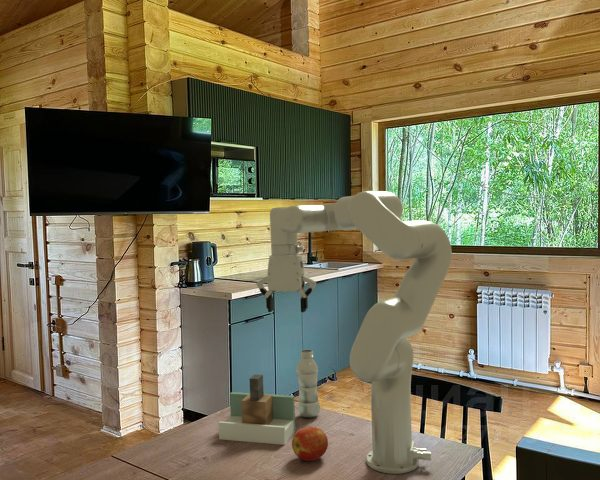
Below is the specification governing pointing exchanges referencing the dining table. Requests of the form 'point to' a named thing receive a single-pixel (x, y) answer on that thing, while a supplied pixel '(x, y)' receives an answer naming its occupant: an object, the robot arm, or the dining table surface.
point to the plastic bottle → (307, 385)
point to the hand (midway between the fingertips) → (287, 311)
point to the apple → (309, 443)
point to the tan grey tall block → (257, 404)
